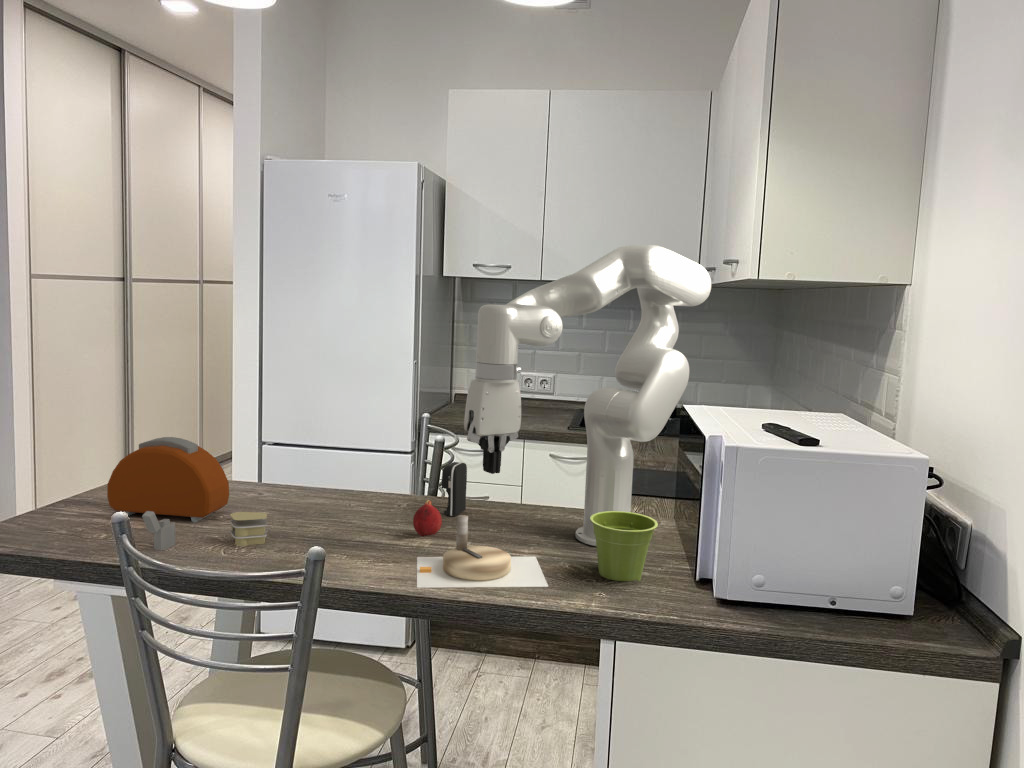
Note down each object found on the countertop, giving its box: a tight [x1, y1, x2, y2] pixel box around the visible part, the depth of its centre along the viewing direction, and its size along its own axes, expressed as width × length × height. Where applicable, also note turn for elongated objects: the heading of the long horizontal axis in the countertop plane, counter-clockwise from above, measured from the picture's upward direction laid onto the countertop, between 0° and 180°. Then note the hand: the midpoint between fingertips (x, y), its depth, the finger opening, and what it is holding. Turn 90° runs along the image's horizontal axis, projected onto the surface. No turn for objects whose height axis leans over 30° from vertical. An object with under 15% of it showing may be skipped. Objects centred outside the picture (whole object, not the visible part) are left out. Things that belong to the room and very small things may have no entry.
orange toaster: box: [106, 436, 230, 523], centre depth 171 cm, size 23×9×17 cm, turn 82°
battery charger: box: [441, 461, 468, 517], centre depth 181 cm, size 7×4×11 cm, turn 161°
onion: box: [412, 499, 443, 538], centre depth 161 cm, size 6×6×8 cm
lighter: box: [141, 511, 177, 552], centre depth 150 cm, size 7×2×8 cm, turn 165°
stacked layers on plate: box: [229, 511, 268, 547], centre depth 156 cm, size 10×9×6 cm
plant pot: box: [590, 511, 659, 582], centre depth 142 cm, size 12×12×11 cm
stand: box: [416, 556, 549, 589], centre depth 141 cm, size 22×15×2 cm
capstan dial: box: [442, 514, 512, 580], centre depth 141 cm, size 12×12×8 cm
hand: (491, 471), depth 147 cm, fingers closed
